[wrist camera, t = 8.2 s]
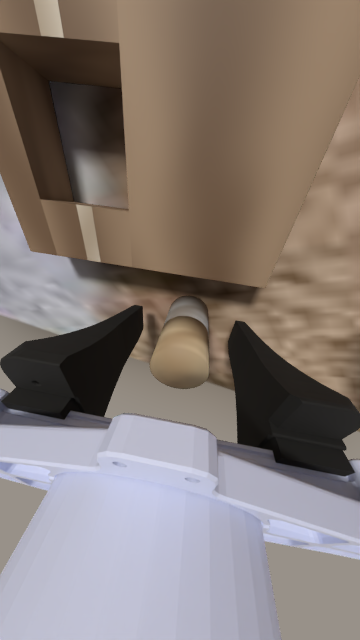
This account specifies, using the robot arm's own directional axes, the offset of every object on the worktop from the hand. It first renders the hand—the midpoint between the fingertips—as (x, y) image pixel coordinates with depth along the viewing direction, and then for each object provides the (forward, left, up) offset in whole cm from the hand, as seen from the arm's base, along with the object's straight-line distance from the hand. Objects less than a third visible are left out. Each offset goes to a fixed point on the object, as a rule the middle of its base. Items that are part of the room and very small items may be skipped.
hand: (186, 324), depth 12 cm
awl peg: (0, 0, -2) cm, 2 cm away
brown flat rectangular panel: (+3, -16, -2) cm, 16 cm away
